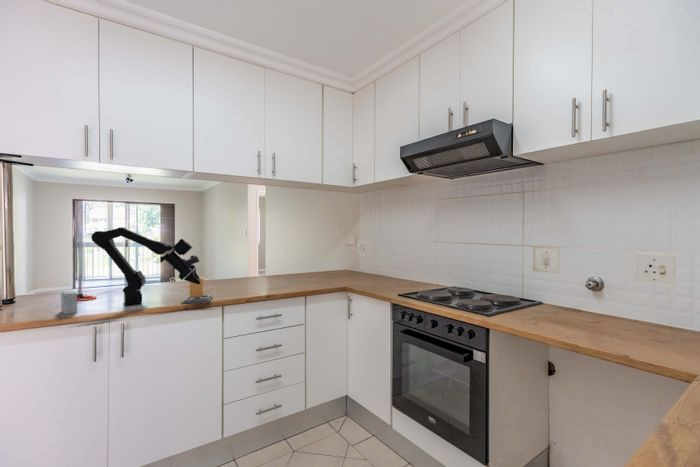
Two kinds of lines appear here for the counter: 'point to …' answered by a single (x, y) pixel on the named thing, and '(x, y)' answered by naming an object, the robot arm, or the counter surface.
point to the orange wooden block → (197, 288)
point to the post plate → (197, 299)
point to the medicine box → (69, 302)
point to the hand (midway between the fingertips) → (200, 282)
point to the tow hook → (80, 295)
